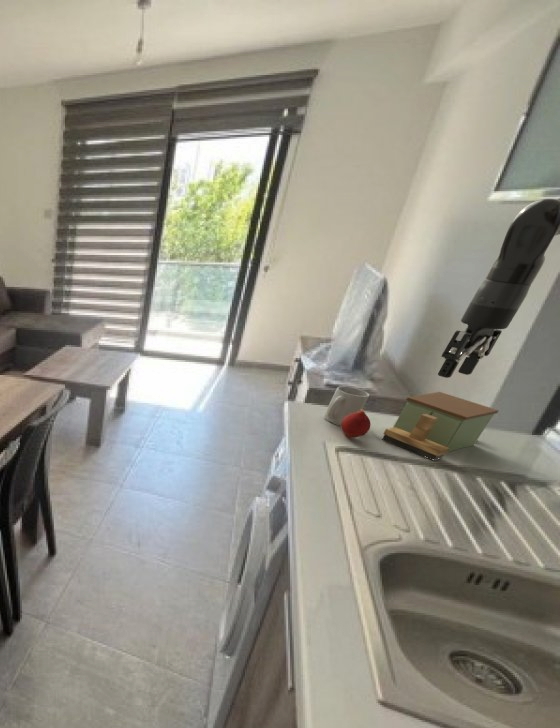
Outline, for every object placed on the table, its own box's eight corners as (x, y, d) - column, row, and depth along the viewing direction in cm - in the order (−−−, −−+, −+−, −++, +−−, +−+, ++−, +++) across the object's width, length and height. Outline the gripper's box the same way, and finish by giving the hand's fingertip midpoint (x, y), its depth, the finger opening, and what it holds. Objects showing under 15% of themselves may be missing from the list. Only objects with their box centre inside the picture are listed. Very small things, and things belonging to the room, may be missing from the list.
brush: (443, 459, 116) (464, 425, 112) (434, 461, 115) (454, 428, 110) (389, 437, 126) (406, 405, 121) (380, 439, 124) (397, 407, 120)
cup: (360, 424, 132) (375, 394, 127) (337, 429, 128) (352, 398, 124) (333, 414, 137) (347, 385, 133) (310, 418, 134) (324, 388, 129)
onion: (361, 437, 125) (376, 409, 121) (363, 445, 120) (378, 416, 116) (334, 430, 127) (348, 403, 123) (336, 438, 123) (350, 410, 119)
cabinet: (475, 445, 124) (499, 410, 119) (442, 454, 118) (465, 417, 114) (420, 424, 134) (439, 391, 129) (386, 431, 129) (405, 397, 124)
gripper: (500, 308, 97) (456, 383, 105) (534, 306, 102) (490, 378, 110) (455, 300, 103) (417, 372, 111) (490, 299, 108) (451, 367, 116)
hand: (453, 375), depth 111 cm, fingers open, 8 cm apart
